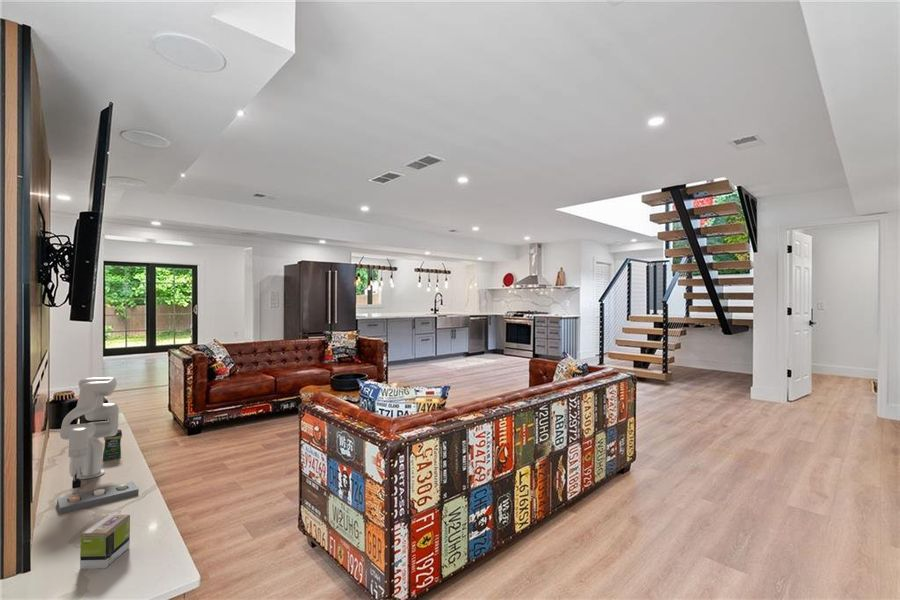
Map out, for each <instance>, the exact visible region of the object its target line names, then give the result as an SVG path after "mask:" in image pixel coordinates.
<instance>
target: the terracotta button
mask: <svg viewBox="0 0 900 600" xmlns="http://www.w3.org/2000/svg"><path fill="white" fill-rule="evenodd" d="M78 500H80V496H75V497H71V498H69V502H73V501H78Z"/></svg>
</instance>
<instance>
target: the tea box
mask: <svg viewBox="0 0 900 600" xmlns="http://www.w3.org/2000/svg"><path fill="white" fill-rule="evenodd" d="M130 533H131V514H107V515H105V516H104V517H102V518H100V519H99V520H98V521H96V522H95V523H94V524H92V525H91V526H89V527H88V528H87V529H85V530H84V531H83V532H81V533H80V553H79V556H80V558H79V559H80V561H79V565H80V566H79V568H80V569H81V570H88V569H89V570H91V569H97V570H99V569H98V568H101V569H106V568H108V567H109V566H110V565H111V564H112V563H114V561H116V559H118V558H119V557H120V556H121V555H122V554H124V553H125V552H126V551H127V550H129V548H130V544H131V542H130V541H131V539H130V538H131V537H130V536H131V534H130ZM109 564H110V565H109Z"/></svg>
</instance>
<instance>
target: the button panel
mask: <svg viewBox="0 0 900 600" xmlns="http://www.w3.org/2000/svg"><path fill="white" fill-rule="evenodd" d="M120 484H127V489H124V490H120V491H117V486H118V485H120ZM98 489H104V490H105V491H104V494H103V495H99V496H94V491H95V490H98ZM137 495H139V487H138V486H137V484H135V482H134V481H133V480H132V481H128V482H123V483H119V484H114V485H110V486H106V487H102V488H101V487H100V488H97V489H92V490H89V491H88V490H87V491H83V492H79V493H76V494H71V495H66V496H61V497H57V498H56V506H57V509H58V512H59V515H62V514H65V513H66V514H67V513H69V512H74V511H78V510H81V509H85V508H90V507H94V506H98V505H102V504H106V503H110V502H114V501H118V500H121V499H125V498H130V497H134V496H137ZM75 496H80V500H78V501H73V502H69V498H71V497H75Z"/></svg>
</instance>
